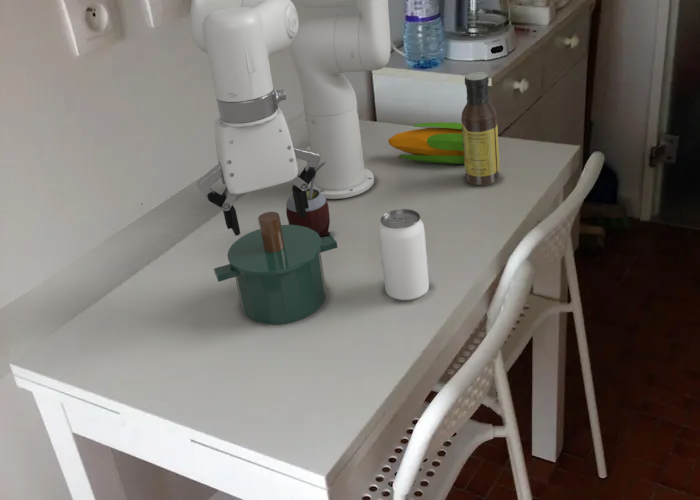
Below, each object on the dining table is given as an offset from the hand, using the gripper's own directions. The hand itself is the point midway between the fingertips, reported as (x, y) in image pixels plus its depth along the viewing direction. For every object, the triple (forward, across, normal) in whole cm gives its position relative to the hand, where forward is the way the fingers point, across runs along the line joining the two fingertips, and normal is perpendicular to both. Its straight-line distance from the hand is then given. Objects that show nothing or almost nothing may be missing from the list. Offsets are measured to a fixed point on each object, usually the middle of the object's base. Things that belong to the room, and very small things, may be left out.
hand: (268, 222), depth 113 cm
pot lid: (+5, 0, 0) cm, 5 cm away
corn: (+13, -41, -33) cm, 55 cm away
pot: (+13, 0, 0) cm, 13 cm away
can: (+13, -17, +7) cm, 23 cm away
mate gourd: (+13, -10, -16) cm, 23 cm away
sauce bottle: (+13, -44, -20) cm, 50 cm away
